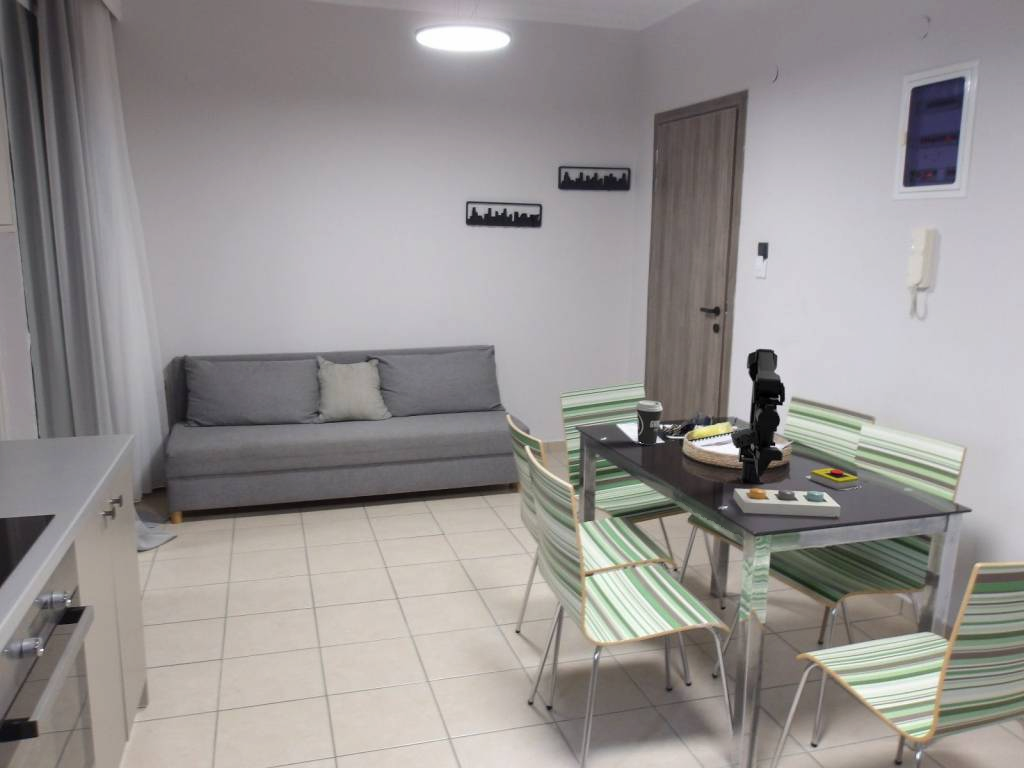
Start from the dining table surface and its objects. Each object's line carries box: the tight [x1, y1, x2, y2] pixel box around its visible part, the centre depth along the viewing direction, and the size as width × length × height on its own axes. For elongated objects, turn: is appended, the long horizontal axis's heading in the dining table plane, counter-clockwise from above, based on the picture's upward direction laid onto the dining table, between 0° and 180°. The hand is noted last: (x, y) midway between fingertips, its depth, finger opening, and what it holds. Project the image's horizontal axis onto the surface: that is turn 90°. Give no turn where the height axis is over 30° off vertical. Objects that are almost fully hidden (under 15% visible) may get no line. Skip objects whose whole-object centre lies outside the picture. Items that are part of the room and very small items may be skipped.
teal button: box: [806, 490, 824, 502], centre depth 223 cm, size 4×4×2 cm
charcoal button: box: [778, 489, 795, 501], centre depth 224 cm, size 4×4×2 cm
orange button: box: [749, 487, 766, 499], centre depth 224 cm, size 4×4×2 cm
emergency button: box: [805, 467, 862, 491], centre depth 249 cm, size 9×4×15 cm
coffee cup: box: [635, 400, 664, 444], centre depth 287 cm, size 10×10×15 cm
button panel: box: [733, 488, 841, 518], centre depth 224 cm, size 12×26×3 cm, turn 88°
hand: (759, 476), depth 223 cm, fingers closed
